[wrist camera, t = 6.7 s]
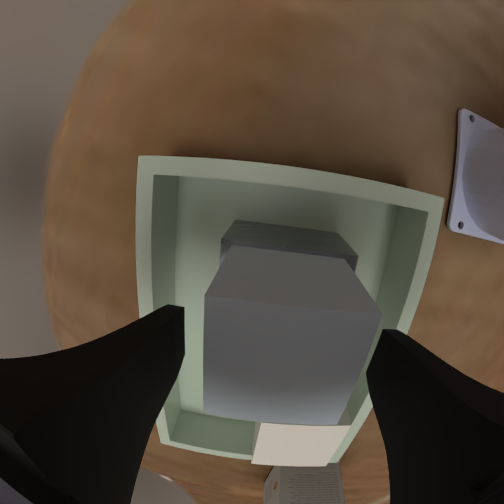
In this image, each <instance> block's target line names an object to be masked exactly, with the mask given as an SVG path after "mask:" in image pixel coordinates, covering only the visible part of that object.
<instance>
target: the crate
mask: <svg viewBox="0 0 504 504" xmlns="http://www.w3.org/2000/svg"><path fill="white" fill-rule="evenodd" d="M444 199H445V198H442V197H439V196H435V195H431V194H428V193H424V192H420V191H416V190H412V189H408V188H404V187H400V186H396V185H391V184H387V183H382V182H378V181H373V180H368V179H363V178H358V177H353V176H348V175H342V174H337V173H331V172H325V171H319V170H312V169H306V168H299V167H292V166H284V165H276V164H268V163H259V162H249V161H239V160H227V159H214V158H198V157H177V156H138V170H137V189H136V270H137V289H138V303H139V315H140V318H142V317H144V316H146V315H147V314H149V313H151V312H153V311H155V310H157V309H159V308H161V307H162V306H165V305H167V304H170V305H176V306H182V307H185V356H184V359H183V362H182V366H181V368H180V371H179V374H178V377H177V379H176V381H175V383H174V385H173V387H172V389H171V391H170V394H169V396H168V398H167V400H166V402H165V404H164V406H163V408H162V410H161V412H160V414H159V416H158V418H157V420H156V424H157V428H158V433H159V437H160V441H161V443H163V444H167V445H171V446H175V447H179V448H183V449H187V450H192V451H196V452H201V453H207V454H212V455H218V456H224V457H231V458H238V459H246V460H252V452H253V442H254V432H255V422H256V421H251V420H242V419H235V418H228V417H222V416H216V415H210V414H205V413H203V330H204V295H205V293H206V291H207V290H208V288H209V286H210V284H211V282H212V280H213V278H214V277H215V275H216V273H217V271H218V269H219V263H220V249H221V238H222V237H223V235H224V234H225V233H226V231H227V230H228V229H229V227H230V226H231V225H232V223H233V222H234V221H235V220H243V221H252V222H260V223H268V224H276V225H284V226H292V227H299V228H307V229H314V230H321V231H328V232H335V233H338V234H339V235H340V236H341V237H342V238H343V239H344V240H345V241H346V242H347V243H348V244H349V245H350V247H351V248H352V249H353V250H354V251H355V252H356V253H357V254H358V255H359V257H358V261H357V266H356V270H355V274H356V276H357V277H358V278H359V280H360V281H361V283H362V284H363V286H364V287H365V289H366V290H367V292H368V293H369V295H370V296H371V297H372V299H373V300H374V302H375V303H376V305H377V306H378V308H379V309H380V311H381V313H382V317H381V320H380V323H379V326H378V329H377V332H376V335H375V338H374V340H373V343H372V346H371V349H370V351H369V354H368V356H367V359H366V361H365V364H364V366H363V369H362V371H361V374H360V376H359V378H358V381H357V383H356V385H355V387H354V390H353V392H352V394H351V396H350V398H349V401H348V403H347V409H348V413H349V417H350V422H351V427H350V429H349V430H348V432H347V434H346V435H345V437H344V439H343V440H342V442H341V444H340V445H339V447H338V448H337V450H336V452H335V453H334V455H333V456H332V458H331V459H330V461H329V462H328V463H337V462H338V461H339V460H340V458H341V457H342V455H343V454H344V452H345V451H346V450H347V448H348V447H349V445H350V443H351V442H352V440H353V439H354V437H355V436H356V434H357V432H358V431H359V429H360V428H361V426H362V424H363V423H364V421H365V419H366V417H367V416H368V414H369V412H370V410H371V409H372V407H373V405H372V402H371V398H370V395H369V390H368V384H367V378H366V370H367V368H368V365H369V363H370V361H371V358H372V356H373V353H374V351H375V348H376V346H377V343H378V340H379V338H380V335H381V332H382V329H397V330H399V331H401V332H403V333H404V334H406V335H407V333H408V330H409V328H410V325H411V322H412V320H413V317H414V314H415V311H416V309H417V306H418V303H419V300H420V297H421V294H422V291H423V288H424V284H425V281H426V278H427V274H428V271H429V267H430V264H431V260H432V256H433V252H434V248H435V244H436V240H437V235H438V231H439V226H440V221H441V216H442V210H443V205H444Z"/></svg>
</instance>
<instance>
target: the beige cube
mask: <svg viewBox="0 0 504 504" xmlns="http://www.w3.org/2000/svg"><path fill="white" fill-rule="evenodd" d="M350 427H351V422H350V417H349V413H348V409H347V405H346V407H345V409H344V411H343V413H342V415H341V417H340V419H339V421H338V423H337V425H302V424H283V423H270V422H260V421H256V422H255V432H254V442H253V452H252V461H251V464H262V465H276V466H326V465H327V464H328V462H329V461H330V459H331V458H332V456H333V455H334V453H335V452H336V450H337V448H338V447H339V445H340V444H341V442H342V440H343V439H344V437H345V435H346V434H347V432H348V430H349V429H350Z"/></svg>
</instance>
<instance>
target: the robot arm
mask: <svg viewBox="0 0 504 504" xmlns="http://www.w3.org/2000/svg"><path fill="white" fill-rule="evenodd" d="M469 116H470V117H471V121H470V119H469ZM459 222H460V227H459V228H458V223H459ZM447 227H448V229H449V230H451V231H453V232H457V233H462V234H466V235H470V236H474V237H478V238H482V239H486V240H490V241H493V242H497V243H501V244H504V128H500V127H499V126H497V125H495V124H494V123H492V122H490V121H488V120H486V119H485V118H483V117H481V116H479V115H477V114H475V113H473V112H471V111H469V110H467V109H465V108H464V109H460V110H459V112H458V137H457V153H456V164H455V173H454V182H453V189H452V196H451V202H450V208H449V213H448V219H447ZM184 356H185V307H182V306H176V305H170V304H167V305H165V306H162V307H161V308H159V309H157V310H155V311H153V312H151V313H149V314H147V315H146V316H144V317H142V318H140V319H138V320H136V321H134V322H132V323H131V324H129V325H127V326H125V327H123V328H120V329H118V330H116V331H114V332H112V333H110V334H107V335H105V336H103V337H101V338H98V339H96V340H93V341H91V342H88V343H85V344H82V345H79V346H76V347H73V348H69V349H65V350H61V351H57V352H53V353H48V354H44V355H38V356H31V357H22V358H11V359H0V504H130V502H131V498H132V494H133V490H134V486H135V482H136V478H137V474H138V471H139V467H140V464H141V461H142V457H143V454H144V451H145V448H146V445H147V442H148V439H149V436H150V433H151V431H152V429H153V426H154V424H155V422H156V420H157V418H158V416H159V414H160V412H161V410H162V408H163V406H164V404H165V402H166V400H167V398H168V396H169V394H170V391H171V389H172V387H173V385H174V383H175V381H176V379H177V377H178V374H179V371H180V368H181V366H182V362H183V359H184ZM366 378H367V384H368V390H369V395H370V398H371V402H372V405H373V408H374V411H375V414H376V418H377V421H378V424H379V427H380V430H381V434H382V437H383V440H384V444H385V449H386V454H387V461H388V469H389V480H390V504H504V393H502V392H499V391H497V390H495V389H492V388H490V387H488V386H485V385H483V384H481V383H479V382H478V381H476V380H474V379H472V378H470V377H468V376H466V375H465V374H463V373H461V372H460V371H458V370H457V369H455V368H454V367H452V366H450V365H449V364H447V363H446V362H445V361H443V360H442V359H440V358H439V357H437V356H436V355H434V354H433V353H432V352H430V351H429V350H428V349H426V348H425V347H423V346H422V345H421V344H419V343H418V342H416V341H415V340H413V339H412V338H411V337H409V336H408V335H406V334H404V333H403V332H401V331H399V330H397V329H382V332H381V335H380V338H379V340H378V343H377V346H376V348H375V351H374V353H373V356H372V358H371V361H370V363H369V365H368V368H367V370H366Z"/></svg>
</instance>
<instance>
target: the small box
mask: <svg viewBox="0 0 504 504" xmlns="http://www.w3.org/2000/svg"><path fill="white" fill-rule="evenodd" d="M263 504H345V498H344V491H343V484H342V476H341V470H340V463H339V461H338V462H337V463H328V464H327V465H326V466H276V465H274V467H273V469H272V470H271V472H270V474H269V476H268V477H267V479H266V481H265V483H264V496H263Z"/></svg>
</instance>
